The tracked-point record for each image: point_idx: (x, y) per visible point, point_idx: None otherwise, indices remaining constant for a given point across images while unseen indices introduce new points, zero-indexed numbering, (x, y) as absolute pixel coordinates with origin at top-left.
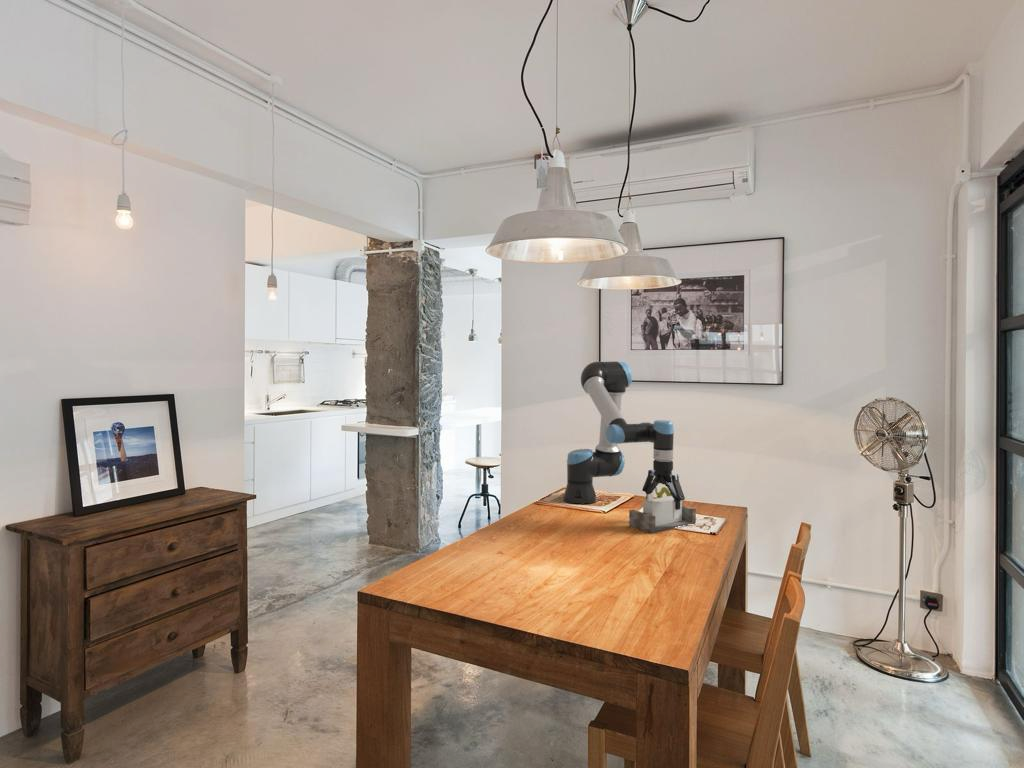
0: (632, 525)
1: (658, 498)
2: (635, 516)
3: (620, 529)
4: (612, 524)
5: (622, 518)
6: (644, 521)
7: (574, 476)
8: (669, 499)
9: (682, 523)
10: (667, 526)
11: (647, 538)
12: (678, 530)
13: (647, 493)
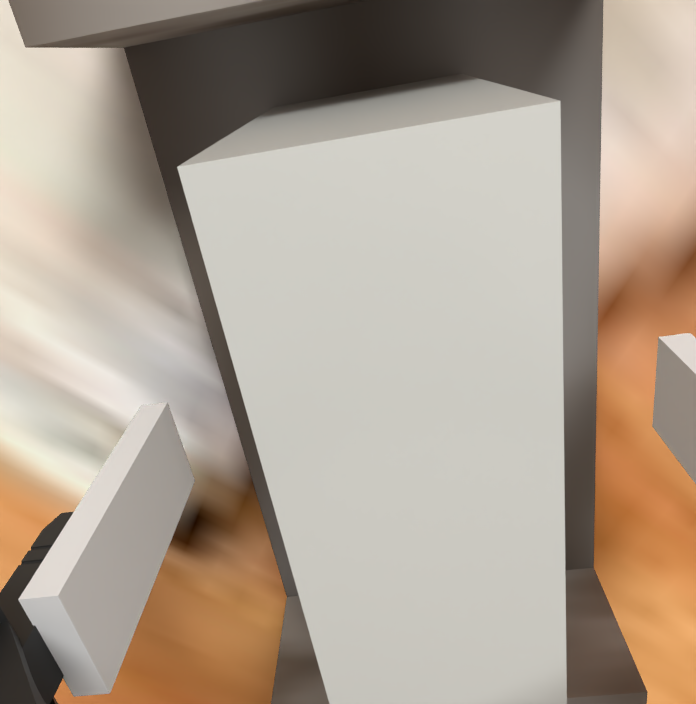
0: None
1: (328, 602)
2: None
3: None
4: (209, 675)
5: (37, 535)
6: None
7: None
8: (505, 482)
9: (581, 168)
10: (579, 416)
11: (668, 662)
12: (661, 313)
13: (54, 698)
